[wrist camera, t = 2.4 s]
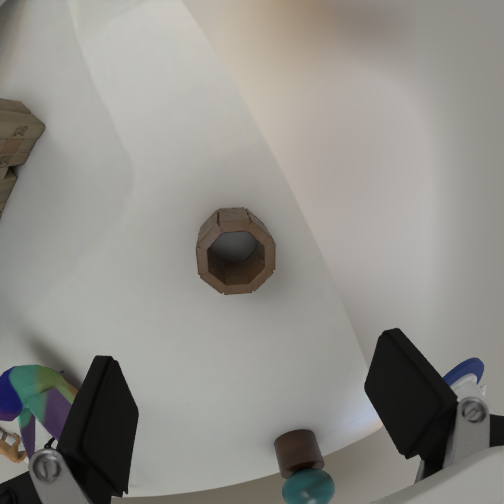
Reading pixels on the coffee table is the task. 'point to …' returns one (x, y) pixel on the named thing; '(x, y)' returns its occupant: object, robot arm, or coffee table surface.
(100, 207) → the coffee table surface
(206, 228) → the bronze ring
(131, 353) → the coffee table surface
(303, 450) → the ball stand
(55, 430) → the decorative sculpture
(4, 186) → the block tower
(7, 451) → the lion figurine
